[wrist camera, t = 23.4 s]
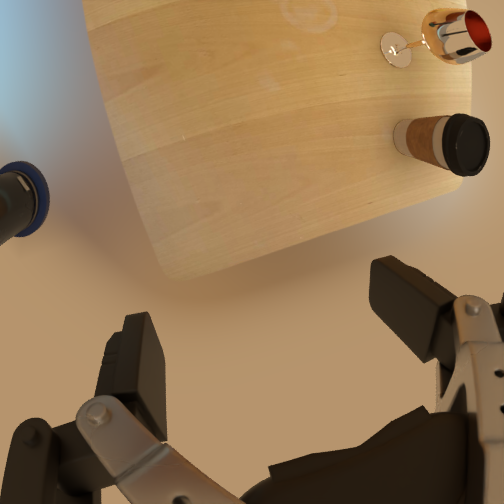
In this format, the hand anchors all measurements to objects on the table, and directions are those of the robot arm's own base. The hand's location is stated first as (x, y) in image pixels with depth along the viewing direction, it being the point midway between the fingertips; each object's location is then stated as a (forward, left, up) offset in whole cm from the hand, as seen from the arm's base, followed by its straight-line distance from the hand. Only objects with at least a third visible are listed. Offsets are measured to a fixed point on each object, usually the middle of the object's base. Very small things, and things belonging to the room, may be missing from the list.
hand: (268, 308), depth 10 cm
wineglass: (+32, +18, -32) cm, 49 cm away
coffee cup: (+32, +3, -32) cm, 45 cm away
